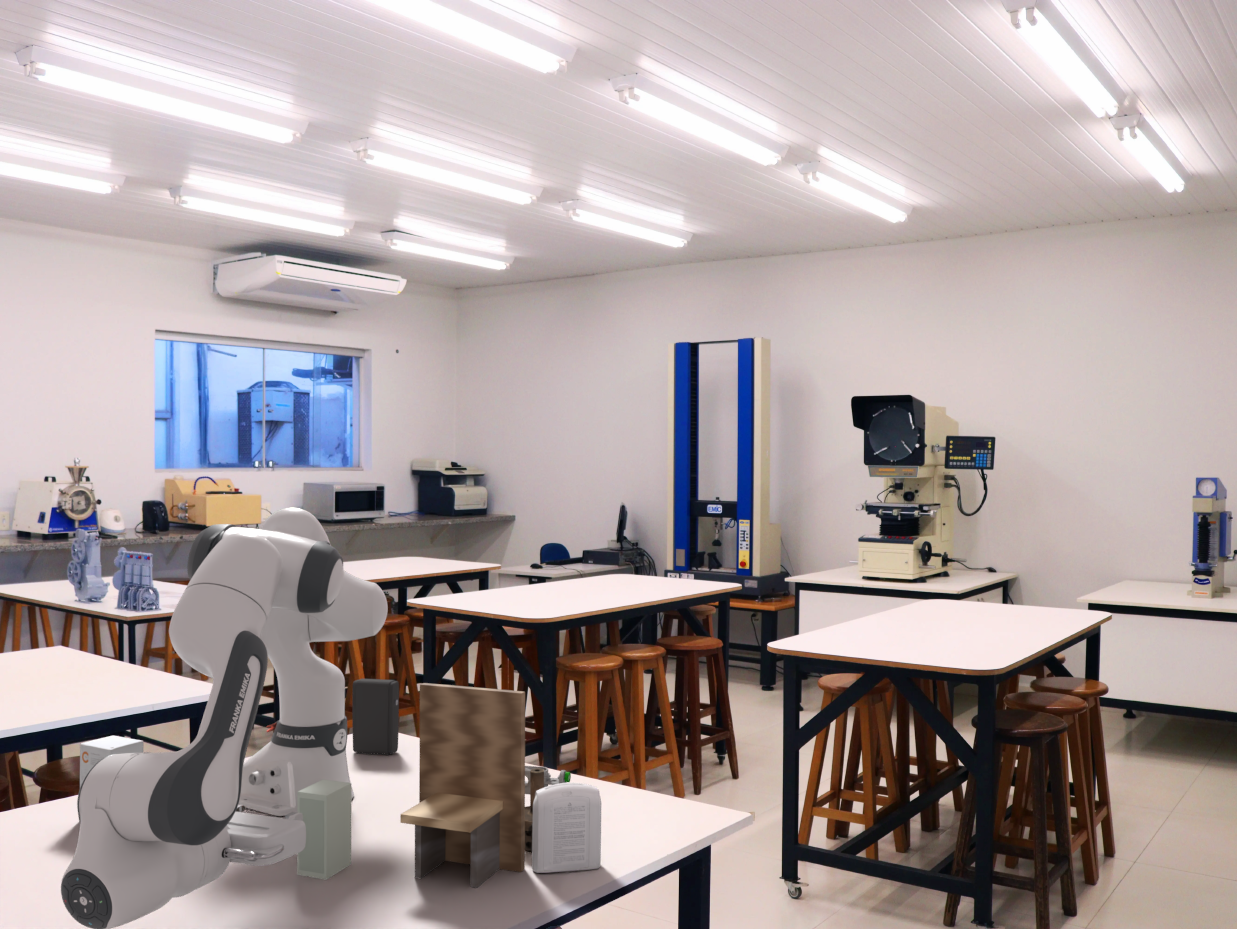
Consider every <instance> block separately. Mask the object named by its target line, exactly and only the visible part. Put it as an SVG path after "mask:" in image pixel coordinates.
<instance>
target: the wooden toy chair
mask: <svg viewBox="0 0 1237 929" xmlns="http://www.w3.org/2000/svg"><path fill="white" fill-rule="evenodd" d="M525 766H526V691H522V690H511V689H498V688H486V687H476V686H474V687H473V686H464V685H453V684H452V685H451V684H442V683H441V684H439V683H430V682H429V683H428V682H423V683H420V684H419V774H418V775H419V778H418V779H419V784H418V785H419V791H418V793H419V794H418V795H419V796H418V797H419V799H418V800H419V802H418V803H416V804H415V805H413V806H411V807H410V808H408V809H407V810H405V811H403V812H402V813H400V820H399V821H400V824H405V825H407V824H409V825H413V826H414V878H416V879H423V878H424V877H425V876H426V875H428V874H429V873H431V872H432V871H433V870H434V869H436V868H437V867H439V866H440V865H441V864H443V863H444V862H451V863H452V862H453V863H459V864H465V865H470V887H471V888H475V889H476V888H478V887H480V886H481V885H482V884H483V883H484V882H486V881H487V880H488V879H489V878H491V876H493V875H494V874H495V873H497V871H499V870H504V871H510V872H517V873H522V872H523V871H524V870H525V869H526V867H525V865H526V864H525V862H526V861H525V860H526V858H525V857H526V856H525V855H526V853H525V851H526V850H525V807H526V794H525V781H526V776H525Z"/></svg>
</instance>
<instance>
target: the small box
mask: <svg viewBox="0 0 1237 929" xmlns="http://www.w3.org/2000/svg"><path fill="white" fill-rule="evenodd" d="M140 752H144V740H140V739H135V738H130V737H129V738H128V737H124V736H117V735H110V736H106V737H101V738H98V739H93V740H87V741H84V742H81V743H80V744H79V788H80V787H81V784H82V782H83V780H84V778H85V777H86V775H87V774H88V772H89V771H90V770H91V769H92V767H93V766H94V765H95V764H96V763H98V762H99V761H100V760H101V759H103V758H105V757H107V756H109V755H112V754H124V753H140Z"/></svg>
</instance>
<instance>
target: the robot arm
mask: <svg viewBox="0 0 1237 929" xmlns="http://www.w3.org/2000/svg"><path fill="white" fill-rule="evenodd" d="M186 568H187V571H186V572H187V576H188V579H189V582H188V584H187V586H186V588H185V590H184V591H183V593H182V595H181V597H180V599H178V602H177V604H176V606H175V608H174V611H172V615H171V619H170V623H169V628H168V634H169V635H168V636H169V639H170V643H171V645H172V648H173V650H174V651H175V652H176V655H177V656H178V657H179V658H180V659H181V660H182V661H183V662H184V663H185V664H186V665H188V666H189V667H191V668H192V669H193V670H195V671H197V672H198V673H200V674H202V675H205V676H207V677H209V678H211V679H212V687H211V690H210V693H209V695H208V699H207V702H206V706H205V709H204V712H203V716H202V719H201V721H200V722H201V723H200V725H199V728H198V732H197V735H196V736H195V738H194V739H193V741H192V742H191V743H190V744H188V745H187V746H185V747H184V748H182V749H180V750H178V751H161V752H160V751H159V752H150V751H149V752H148V751H143V752H140V753H124V754H112V755H109V756H107V757H105V758H103V759H101V760H100V761H99V762H98V763H96V764H95V765H94V766H93V767H92V769H91V770H90V771H89V772H88V774H87V775H86V777H85V778H84V780H83V782H82V784H81V787H80V786H79V790H78V796H77V802H76V806H77V807H76V808H77V815H78V821H79V833H78V837H77V844H76V848H75V852H74V855H73V857H72V859H71V861H70V863H69V864H68V866H67V868H66V870H65V872H64V873H63V876H62V878H61V885H60V894H61V899H62V902H63V905H64V906H65V909H66V910H67V912H68V913H69V915H70V916H71V917H72V919H74V920H75V921H76V922H78V923H79V924H81V925H82V926H84V927H85V928H89V929H115V928H118V927H121V926H124V925H126V924H130V923H131V922H134V921H136V920H139V919H141V918H143V917H145V916H147V915H149V914H151V913H153V912H156V911H157V910H159V909H161V908H163V907H164V906H165V905H167V904H168V903H169V902H170V901H171V900H172V899H174V898H180V897H181V898H182V897H184V896H186V895H189V894H190V893H193V892H194V891H195V890H198V889H199V888H202V887H204V886H205V885H207V884H210V883H211V882H213V881H216V880H218V879H219V878H220V877H221V876H222V875H223V874H224V873H225V872H226V870H227V868H228V867H229V865H230V863H234V864H241V865H247V866H254V867H263V866H264V867H265V866H270V865H273V864H276V863H280V862H282V861H284V860H286V859H289V858H291V857H294V856H296V855H297V854H298V853H300V852H302V851H303V850H304V848H305V845H306V827H305V823H304V822H303V814H302V813H298V812H297V792H298V791H300V790H302V789H304V788H306V787H308V786H311V785H313V784H315V783H317V782H319V781H321V780H331V781H339V782H347V783H351V784H352V782H351V779H350V778H351V777H350V772H349V768H348V767H349V766H348V760H347V759H348V758H347V745H348V744H347V743H348V717H347V716H346V710H345V709H346V704H345V703H346V699H345V698H346V680H345V676H344V674H343V672H342V670H341V669H340V668H339V667H338V666H336V665H335V664H333V663H331V662H330V661H328V660H326V659H323V658H321V657H319V656H318V655H316V654H315V653H314V652H313V650H312V648H311V645H310V643H314V642H315V643H317V642H318V643H319V642H351V641H355V640H356V641H357V640H360V639H365V638H369V637H374V636H376V635H378V633H379V632H380V631H381V629H382V628H383V626H384V624H385V622H386V619H387V617H388V611H389V610H388V608H389V607H388V601H387V600H388V599H387V597H386V595H385V593H384V591H383V590H382V588H381V587H380V586H379V584H377V582H373V581H369V580H366V579H362V578H359V577H357V576H355V575H353V574H351V573H349V572H348V571H347V570H344V558H343V556H342V555H341V554H340V552H339V550H338V549H337V548H336V547H334V546H333V545H332V544H331V542H330V540H329V536H328V535H327V532H326V531H325V529H324V527H323V526H322V524H321V523H320V521H319V520H318V518H317V517H315V516H314V515H313V513H311V512H310V511H307V510H306V509H302V508H299V507H285V508H282V509H279V510H276V511H274V512H273V513H271V514H270V515H269V516H268V517H266V519H265V520H264V521H263V522H262V525H261V527H260V528H253V527H252V528H251V527H241V526H239V527H238V526H236V525H235V524H230V523H229V524H227V523H222V524H221V523H219V524H212V525H210V526H208V527H207V528H205V529H203V530H201V531H200V532H199V533H198V534H197V535H196V537H195V538H194V541H193V542H192V545H191V547H190V551H189V554H188V559H187V567H186ZM268 659H269V660H270V662H271V664H272V667H273V669H274V672H275V675H276V677H277V678H276V679H277V687H278V695H279V697H278V698H279V720H277V721H275V722H274V723H272V724H269V725H267V726H266V728H268V729H267V730H266V731H265V732H266V733H270V732H273V733H272V736H271V739H270V741H269V742H268V743H267V744H266V745H264V746H263V747H262V748H261V749H260V750H258V751H257V752H256V753H254V754H253V755H252V756H251V757H249V758H248V759H247V760H246V761H245V759H246V755H247V751H248V747H249V743H250V740H251V735H252V731H253V728H254V724H255V721H256V717H257V713H258V710H259V709H258V708H259V705H260V701H261V697H262V693H263V690H264V685H265V682H266V681H265V680H266V676H267V670H268V662H269V661H268ZM352 786H353V785H351V800H352V799H354V797H355V793H354V790H353V787H352ZM246 809H250V810H254V811H257V812H261V813H265V814H269V815H262V814H257V813H250V812H245V810H246ZM270 815H271V816H270ZM282 816H283V817H282Z"/></svg>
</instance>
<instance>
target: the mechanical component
mask: <svg viewBox="0 0 1237 929" xmlns="http://www.w3.org/2000/svg"><path fill="white" fill-rule="evenodd" d="M535 768H540V769H543V770H544V787H547V786H550V785H554V784H560V783H571V778H572V777H571V776H572V773H571V772H570V771H567V770H565V769H561V770H560V772H559V775H558V776H557V777H551V776H552V774H550V772H549V768H548V767H546V766H535V765H534V766H531V765H525V778H527V781H526V780H525V795H530V771H531V770H532V769H535Z"/></svg>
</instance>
